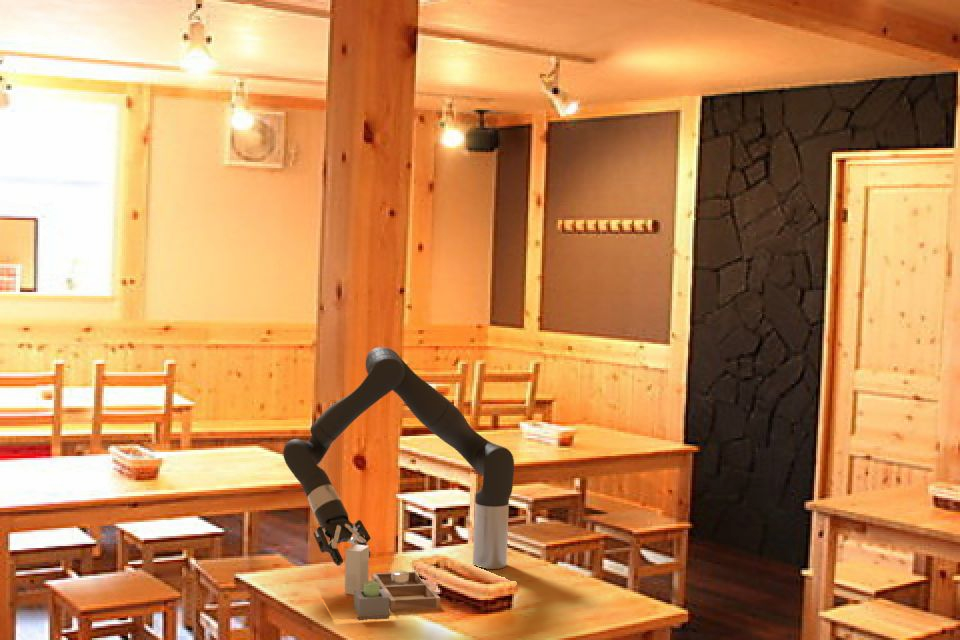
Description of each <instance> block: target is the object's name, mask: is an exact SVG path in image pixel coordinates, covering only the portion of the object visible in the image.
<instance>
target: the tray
mask: <svg viewBox="0 0 960 640" xmlns="http://www.w3.org/2000/svg"><path fill="white" fill-rule="evenodd" d="M407 572H408V573H409V585H391V573H392V572H378V573H377V572H376V573H375V572H374V573H371V581H373V582H378V583H380V588H379V589H384V591H385V592H386V594H387V595H388V596H389V612H401V611H418V610H419V611H421V610H436V609H437V610H438V609H439V610H440V609H441V597H440V596H439V595H438V594H437V592H436V591H435V590H434V588H432V587H431V585H430V584H429V583H428V582H427V580H426V579H425V578H424V579H425V580H424V579H421V578H420V577H419V575H418V574H417V572H416V571H407Z"/></svg>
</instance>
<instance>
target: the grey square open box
mask: <svg viewBox="0 0 960 640" xmlns="http://www.w3.org/2000/svg"><path fill="white" fill-rule="evenodd" d="M353 609H354V610H355V612H356V614H357V615H358V618H357V620H358V621H368V620H367V619H375V620H387V618H389V619H390V617H389V615H390V609H389V596H388V595H387V594H386V592H385V591H384V589H379V597H364V590H354V595H353ZM364 619H366V620H364Z"/></svg>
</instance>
